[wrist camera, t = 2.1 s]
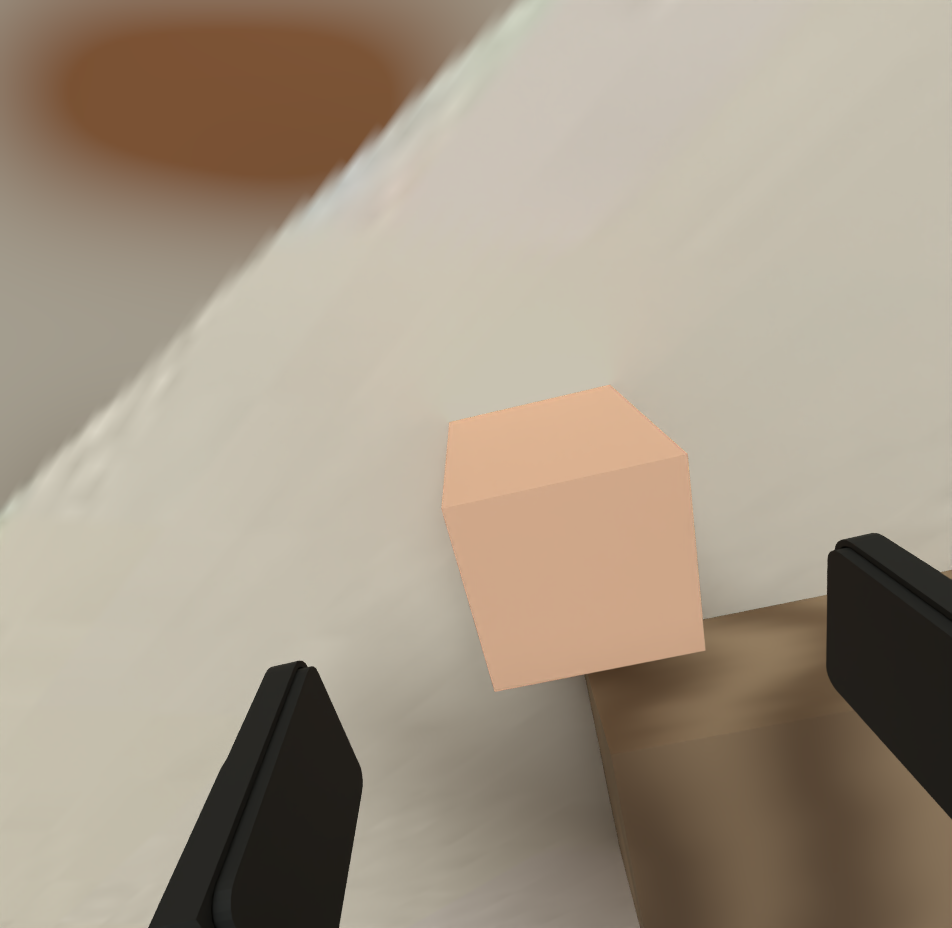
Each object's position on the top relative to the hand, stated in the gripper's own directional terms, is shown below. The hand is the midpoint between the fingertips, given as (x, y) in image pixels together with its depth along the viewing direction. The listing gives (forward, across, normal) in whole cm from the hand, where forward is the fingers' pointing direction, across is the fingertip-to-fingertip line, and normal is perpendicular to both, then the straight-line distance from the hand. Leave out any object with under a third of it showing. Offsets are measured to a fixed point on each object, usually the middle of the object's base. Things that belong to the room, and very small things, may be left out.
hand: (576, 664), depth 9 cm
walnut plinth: (+8, -8, +13) cm, 17 cm away
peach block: (+8, -1, 0) cm, 8 cm away
